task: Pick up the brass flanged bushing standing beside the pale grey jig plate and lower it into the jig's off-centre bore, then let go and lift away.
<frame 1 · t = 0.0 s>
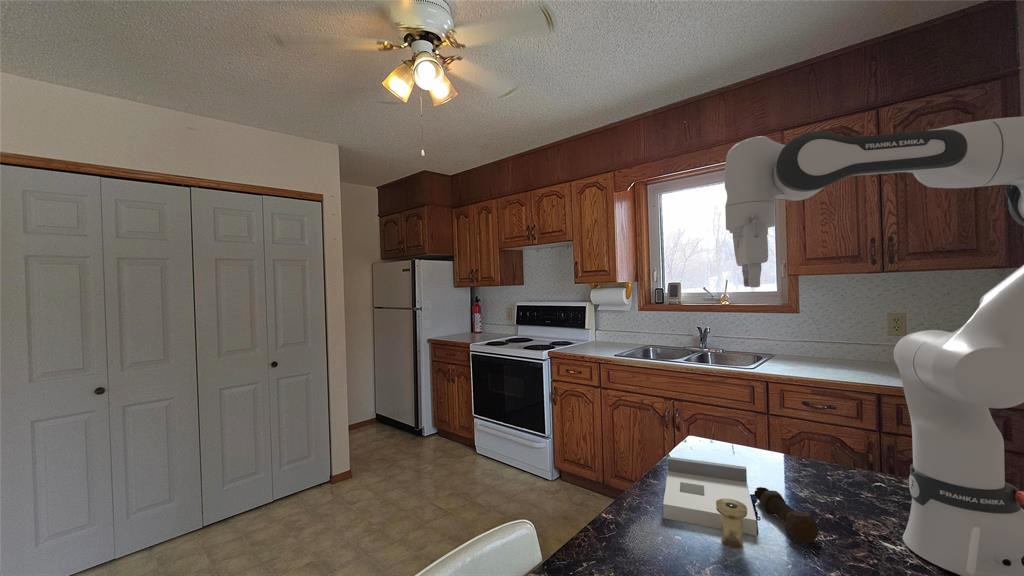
hand: (751, 287, 86), 48 cm above the worktop, tool pointing down, fingers open, 8 cm apart
jig: (707, 504, 92), on the worktop
bolt: (782, 522, 86), on the worktop
bushing: (732, 542, 79), on the worktop
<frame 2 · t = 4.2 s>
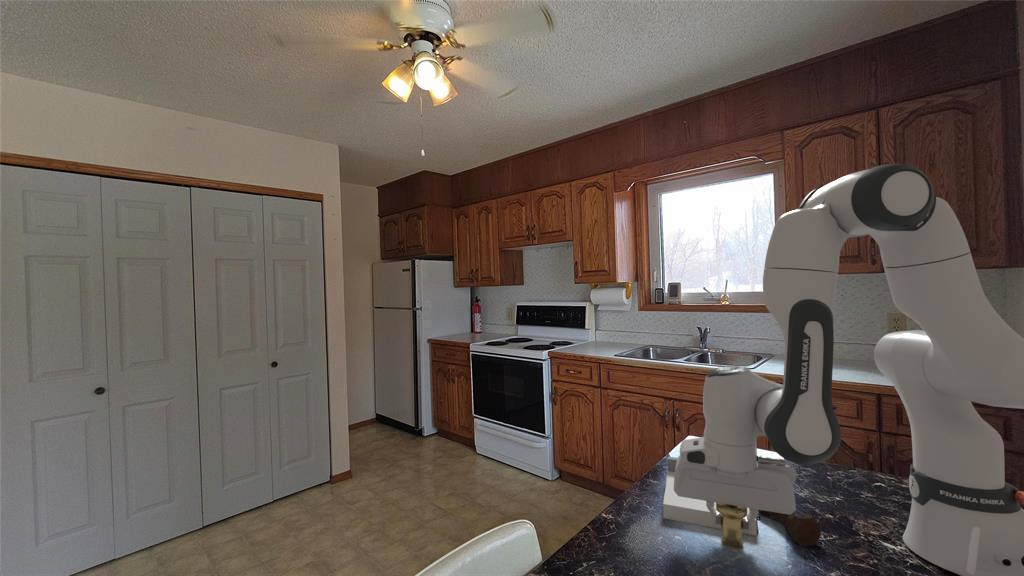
hand: (731, 525, 79), 3 cm above the worktop, tool pointing down, fingers closed on bushing, 4 cm apart
bolt: (780, 524, 85), on the worktop
bushing: (732, 542, 79), on the worktop, touching gripper
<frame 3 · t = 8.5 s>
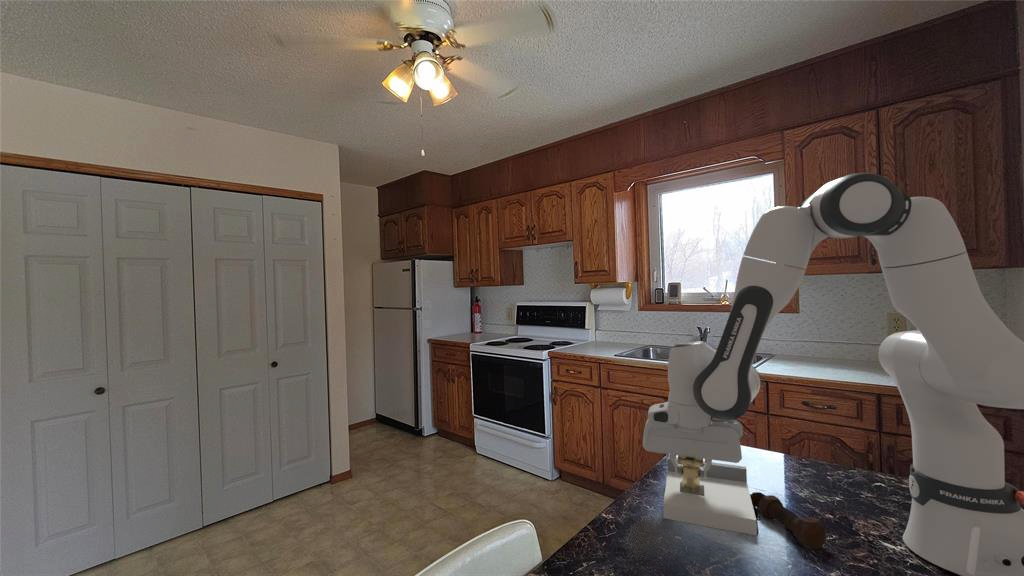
hand: (690, 475, 93), 6 cm above the worktop, tool pointing down, fingers closed on bushing, 4 cm apart
bolt: (783, 527, 84), on the worktop
bushing: (690, 489, 93), point 3 cm above the worktop, touching gripper
when the fingers open (5 cm above the worktop, at t = 9.6 s): bushing stays where it is, resting in jig.
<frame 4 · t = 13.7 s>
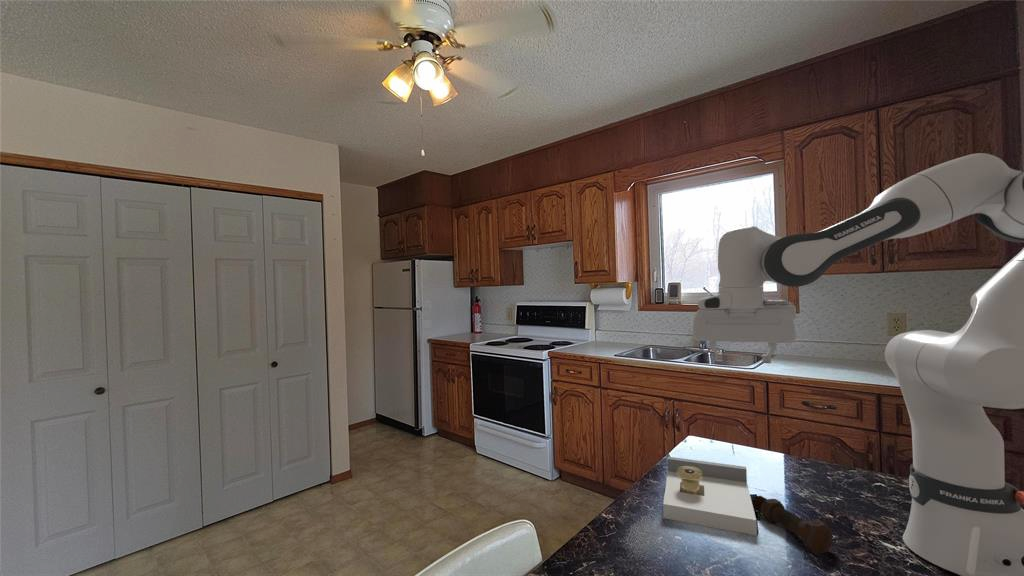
hand: (742, 361, 93), 31 cm above the worktop, tool pointing down, fingers open, 8 cm apart
bolt: (786, 531, 82), on the worktop
bushing: (691, 501, 93), resting in jig
at the end: bushing 0.3 cm from the target spot on the jig, point 0.1 cm above the jig's base; bushing tilted 3°; the gripper is holding nothing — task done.
